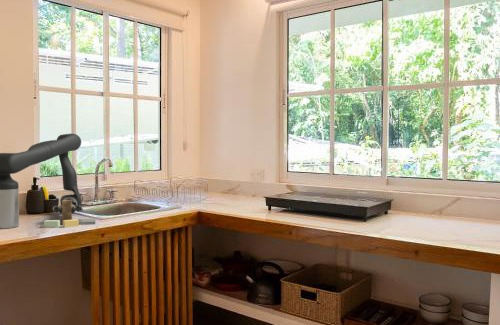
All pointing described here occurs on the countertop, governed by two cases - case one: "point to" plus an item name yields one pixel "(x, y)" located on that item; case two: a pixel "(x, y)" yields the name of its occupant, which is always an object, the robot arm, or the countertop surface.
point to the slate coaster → (86, 221)
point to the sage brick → (51, 223)
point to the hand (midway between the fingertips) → (66, 210)
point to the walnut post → (66, 210)
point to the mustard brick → (70, 223)
